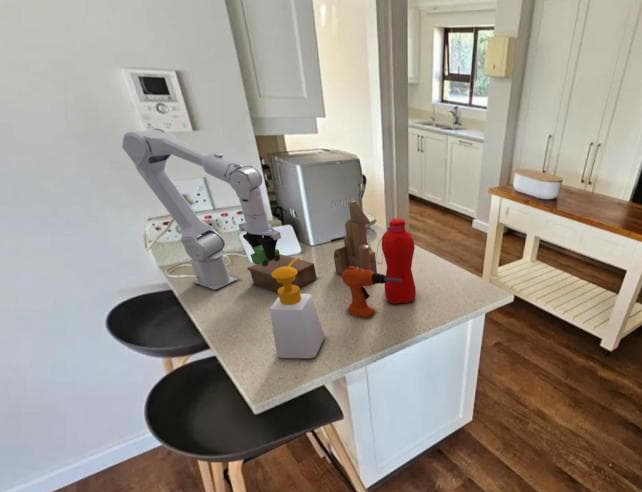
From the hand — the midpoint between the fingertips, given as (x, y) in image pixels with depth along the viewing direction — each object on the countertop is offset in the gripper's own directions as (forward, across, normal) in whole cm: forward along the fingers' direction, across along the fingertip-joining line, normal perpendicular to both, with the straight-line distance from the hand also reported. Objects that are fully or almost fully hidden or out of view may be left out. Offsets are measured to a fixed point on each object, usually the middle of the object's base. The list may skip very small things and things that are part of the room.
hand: (266, 257), depth 111 cm
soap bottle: (+11, -30, +17) cm, 36 cm away
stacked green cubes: (+2, 0, 0) cm, 2 cm away
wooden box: (+10, 0, -5) cm, 11 cm away
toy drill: (+11, -37, -2) cm, 39 cm away
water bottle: (+11, -37, -14) cm, 41 cm away
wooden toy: (+11, -17, -20) cm, 28 cm away
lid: (+5, 0, -5) cm, 7 cm away
